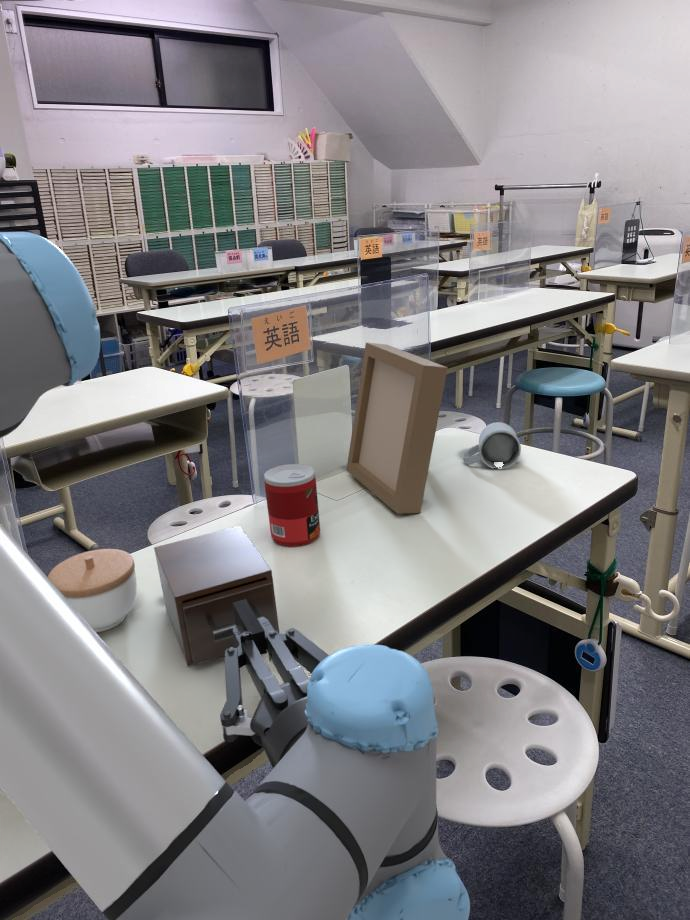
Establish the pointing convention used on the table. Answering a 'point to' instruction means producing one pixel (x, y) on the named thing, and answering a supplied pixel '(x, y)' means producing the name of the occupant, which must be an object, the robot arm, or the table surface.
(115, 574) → the trinket box
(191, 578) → the cabinet
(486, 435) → the ceramic mug
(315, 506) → the canned food
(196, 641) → the drawer
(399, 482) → the photo frame
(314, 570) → the table surface
